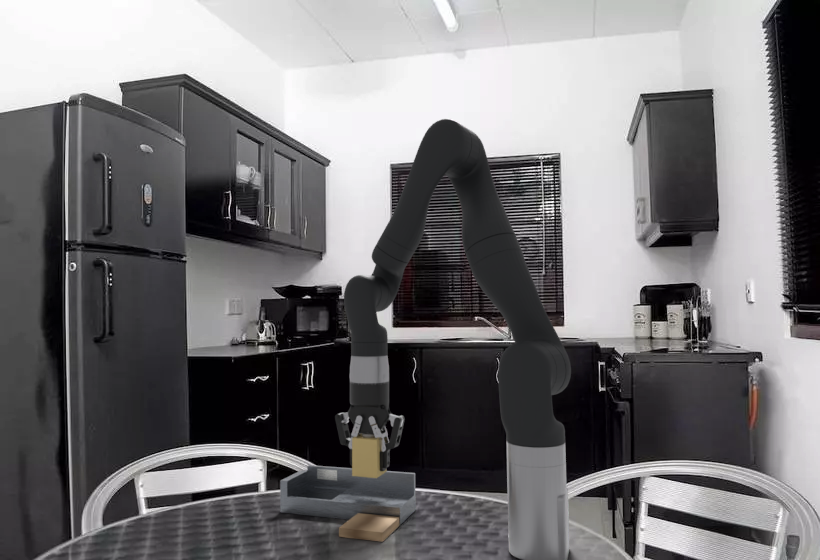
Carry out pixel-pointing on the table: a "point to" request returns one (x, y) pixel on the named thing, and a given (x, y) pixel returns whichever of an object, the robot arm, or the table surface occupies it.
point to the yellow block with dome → (366, 456)
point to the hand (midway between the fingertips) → (369, 468)
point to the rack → (347, 493)
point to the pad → (369, 527)
